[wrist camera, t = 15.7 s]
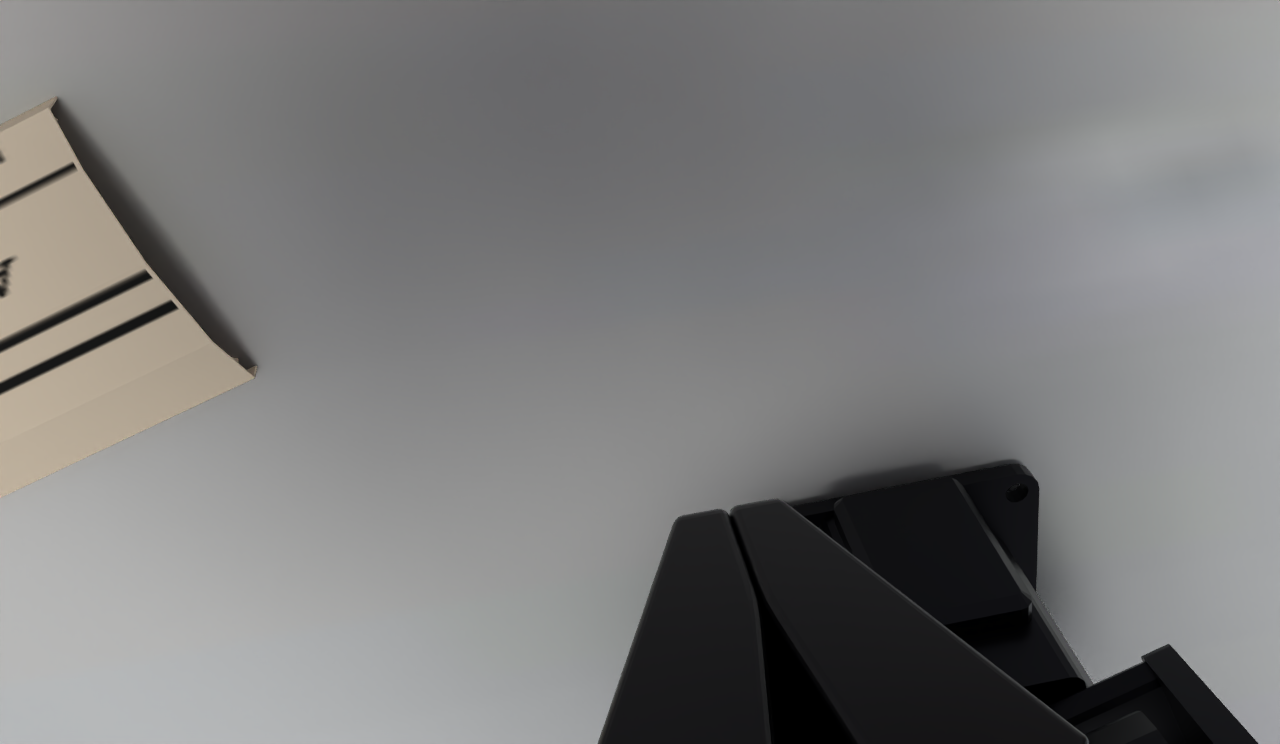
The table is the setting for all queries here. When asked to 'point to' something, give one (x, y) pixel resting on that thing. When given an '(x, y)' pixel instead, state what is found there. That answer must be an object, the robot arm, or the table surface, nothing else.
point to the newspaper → (83, 317)
